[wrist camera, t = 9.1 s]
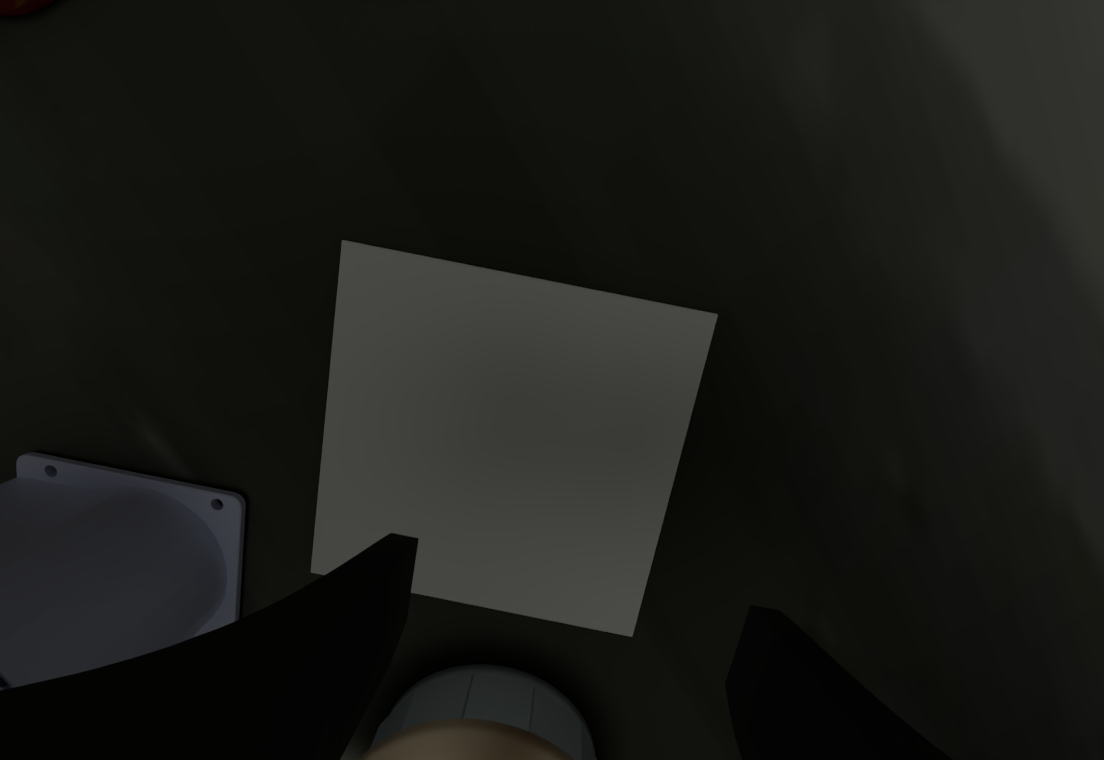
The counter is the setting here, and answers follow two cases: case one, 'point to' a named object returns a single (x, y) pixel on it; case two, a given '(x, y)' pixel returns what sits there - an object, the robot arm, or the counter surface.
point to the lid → (464, 743)
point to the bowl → (493, 705)
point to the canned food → (21, 6)
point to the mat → (504, 432)
